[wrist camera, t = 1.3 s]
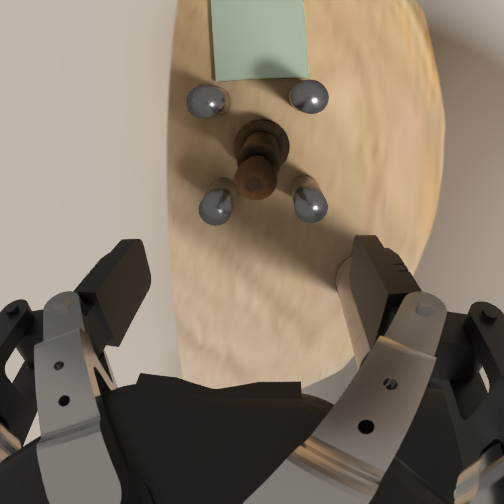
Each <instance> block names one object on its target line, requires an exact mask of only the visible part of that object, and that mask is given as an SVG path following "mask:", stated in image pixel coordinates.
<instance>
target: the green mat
mask: <svg viewBox="0 0 504 504" xmlns="http://www.w3.org/2000/svg"><path fill="white" fill-rule="evenodd" d="M211 13H212V30H213V46H214V61H215V76H216V82H222V81H233V80H246V79H265V78H309V71H308V53H307V39H306V26H305V14H304V4H303V0H211Z"/></svg>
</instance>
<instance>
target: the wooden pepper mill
mask: <svg viewBox="0 0 504 504" xmlns="http://www.w3.org/2000/svg"><path fill="white" fill-rule="evenodd" d="M234 153H235V156H236V158H237V166H238V169H237V171H236V173H235V185H236V188H237V190H238V191H239V192H240V193H241V194H242V195H243V196H244V197H246V198H248V199H251V200H261V199H264V198H266V197H268V196H269V195H270V194H271V193H272V192H273V191H274V189H275V187H276V184H277V174H278V172H279V169H280V166H281V165H282V164H283V163H284V162H285V160H286V159H287V156H288V154H289V140H288V137H287V134H286V133H285V131H284V130H283V129H282V128H281V127H280V126H279V125H278V124H276V123H275V122H272V121H270V120H263V119H261V120H255V121H252V122H249V123H248V124H246V125H245V126H244V127H242V129H241V130H240V131H239V132H238V134H237V136H236V138H235V141H234Z"/></svg>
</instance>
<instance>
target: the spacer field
mask: <svg viewBox="0 0 504 504" xmlns="http://www.w3.org/2000/svg"><path fill="white" fill-rule="evenodd" d="M288 98H289V102H290V104H291V105H292V106H293V107H294V108H295V109H297V110H299V111H302V112H305V113H308V114H315V113H318V112H320V111H322V110H323V109H324V108H325V107H326V105H327V103H328V98H329V97H328V92H327V90H326V88H325V87H324V86H323V85H322V84H321V83H320V82H318V81H315V80H304V81H301V82H300V83H298V84H296V85H295V86H293V87H292V88H291V90H290V91H289V95H288ZM230 102H231V99H230V95H229V94H228V92H227V91H226V90H224V89H222V88H219V87H214V86H209V85H200V86H198V87H196V88H194V89H193V90H192V91H191V92H190V93H189V95H188V97H187V107H188V110H189V112H190V113H191V114H192V115H193V116H195V117H197V118H201V119H206V118H210V117H213V116H216V115H219V114H222V113H224V112H225V111H226V110H227V109H228V108H229V106H230ZM291 192H292V197H293V202H294V207H295V211H296V214H297V216H298V217H299V218H300V219H301V220H302V221H304V222H307V223H315V222H318V221H320V220H321V219H322V218H323V217H324V216H325V215H326V213H327V209H328V205H327V201H326V199H325V197H324V195H323V193H322V192H321V190H320V188H319V186H318V184H317V182H316V181H315V179H313V178H312V177H310V176H300V177H298V178H296V179H295V180H294V181H293V183H292V185H291ZM236 196H237V188H236V185H235V183H234V182H233V181H231V180H229V179H226V178H221V179H218V180H216V181H215V182H214V183H213V184H212V185H211V187H210V189H209V190H208V192H207V193H206V195H205V196H204V198H203V200H202V201H201V203H200V205H199V214H200V216H201V218H202V219H203V220H204V221H205V222H206V223H208V224H210V225H221V224H223V223H225V222H226V221H227V220H228V219H229V217H230V214H231V211H232V208H233V205H234V202H235V199H236Z"/></svg>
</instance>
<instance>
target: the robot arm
mask: <svg viewBox="0 0 504 504" xmlns="http://www.w3.org/2000/svg"><path fill="white" fill-rule="evenodd" d="M150 285H151V274H150V269H149V266H148V261H147V257H146V253H145V249H144V245H143V242H142V241H141V240H140V239H124V240H121V241H120V242H119V243H118V244H117V246H115V248H114V249H113V250H112V251H111V252H110V253H109V254H107V255H106V256H104V257H103V258H101V259H100V260H99V262H98V263H97V264H96V265H95V267H94V268H93V269H92V270H91V271H90V273H89V274H88V275H87V276H86V277H85V278H84V279H83V280H82V282H81V283H80V284H79V285H78V287H77V288H76V289H75V290H74V291H73V292H72V291H67V292H63V293H59V294H57V295H55V296H54V297H52V298H51V299H50V300H49V301H48V302H47V303H46V304H45V306H44V309H43V310H37V311H32V310H31V309H30V307H29V305H28V303H27V301H26V300H22V299H20V300H16V301H13V302H11V303H10V304H8V305H7V306H6V307H5V308H4V309H3V310H2V311H1V312H0V504H504V314H503V313H502V312H501V310H500V309H498V308H497V307H496V306H494V305H492V304H490V303H487V302H476V303H474V304H472V305H471V307H470V310H469V312H468V314H467V315H466V314H460V313H453V312H448V311H447V309H446V306H445V304H444V303H443V302H442V301H441V300H440V299H439V298H438V297H436V296H434V295H432V294H430V293H426V292H422V291H421V289H420V288H419V286H418V284H417V283H416V281H415V279H414V278H413V276H412V275H411V273H410V272H408V269H407V267H406V266H405V265H404V263H403V261H402V260H401V258H400V257H399V255H398V254H396V253H395V252H393V251H392V250H391V249H389V248H384V247H383V245H382V244H381V242H380V241H379V239H378V238H377V236H376V235H356V236H355V238H354V243H353V251H352V256H351V257H349V258H348V259H347V260H345V261H344V262H343V263H342V265H341V266H340V267H339V269H338V272H337V275H336V286H337V291H338V295H339V297H340V301H341V304H342V308H343V312H344V315H345V319H346V323H347V326H348V330H349V334H350V338H351V342H352V346H353V350H354V354H355V358H356V362H357V366H358V372H357V373H356V375H355V376H354V378H353V379H352V381H351V382H350V384H349V385H348V387H347V388H346V389H345V391H344V392H343V394H342V395H341V396H340V398H339V399H338V401H337V402H336V403H335V405H334V404H332V403H330V402H328V401H326V400H323V399H321V398H318V397H315V396H311V395H308V394H302V393H301V382H256V383H251V384H246V385H240V386H234V387H228V388H222V389H211V388H208V387H204V386H201V385H198V384H194V383H191V382H188V381H185V380H182V379H179V378H176V377H167V376H159V375H150V374H143V373H140V375H139V378H138V381H137V383H136V384H133V385H128V386H123V387H120V388H118V387H117V384H116V382H115V379H114V376H113V373H112V370H111V367H110V364H109V361H108V357H107V355H106V353H105V351H104V348H105V346H106V345H109V346H116V347H119V345H120V343H121V342H122V340H123V338H124V336H125V333H126V332H127V330H128V328H129V326H130V324H131V322H132V320H133V318H134V316H135V314H136V312H137V311H138V309H139V307H140V305H141V303H142V301H143V300H144V298H145V296H146V294H147V292H148V290H149V288H150ZM15 348H17V350H18V351H19V353H20V354H21V356H22V357H23V359H24V360H25V362H24V363H23V365H22V367H21V368H20V370H19V372H18V374H17V376H16V377H15V379H14V381H13V383H11V382H10V380H9V379H8V378H7V376H6V374H5V364H6V362H7V360H8V359H9V357H10V355H11V354H12V352H13V351H14V349H15ZM482 366H483V368H484V370H485V372H486V375H487V377H488V380H489V385H490V388H489V393H488V392H487V390H486V387H485V385H484V382H483V380H482V378H481V375H480V373H479V371H480V369H481V368H482ZM37 411H38V416H39V423H40V430H41V436H40V437H38V438H36V439H35V440H33V441H32V442H30V443H29V444H27V445H25V446H24V447H23V445H24V442H25V439H26V437H27V434H28V432H29V430H30V427H31V425H32V422H33V420H34V418H35V416H36V413H37Z"/></svg>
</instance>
